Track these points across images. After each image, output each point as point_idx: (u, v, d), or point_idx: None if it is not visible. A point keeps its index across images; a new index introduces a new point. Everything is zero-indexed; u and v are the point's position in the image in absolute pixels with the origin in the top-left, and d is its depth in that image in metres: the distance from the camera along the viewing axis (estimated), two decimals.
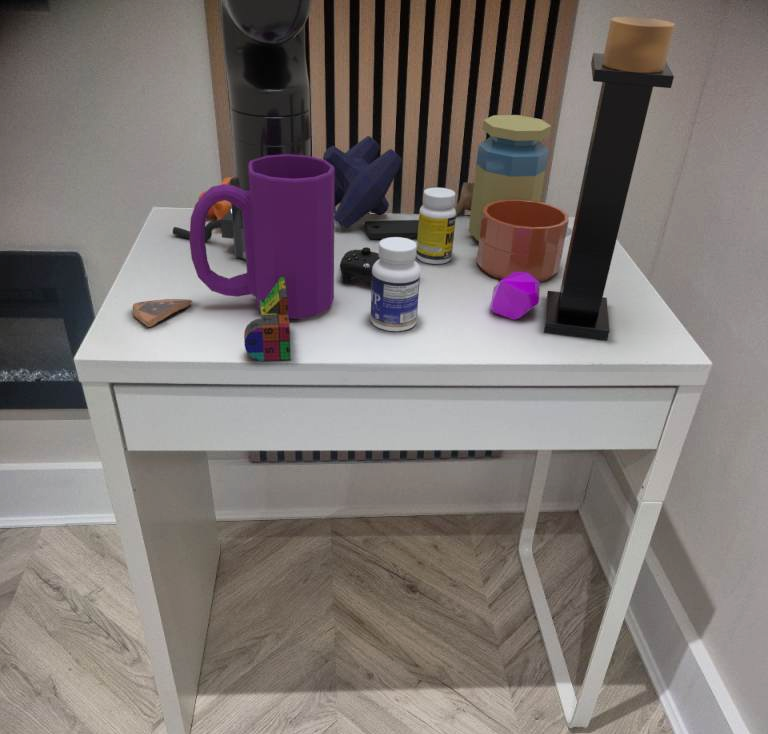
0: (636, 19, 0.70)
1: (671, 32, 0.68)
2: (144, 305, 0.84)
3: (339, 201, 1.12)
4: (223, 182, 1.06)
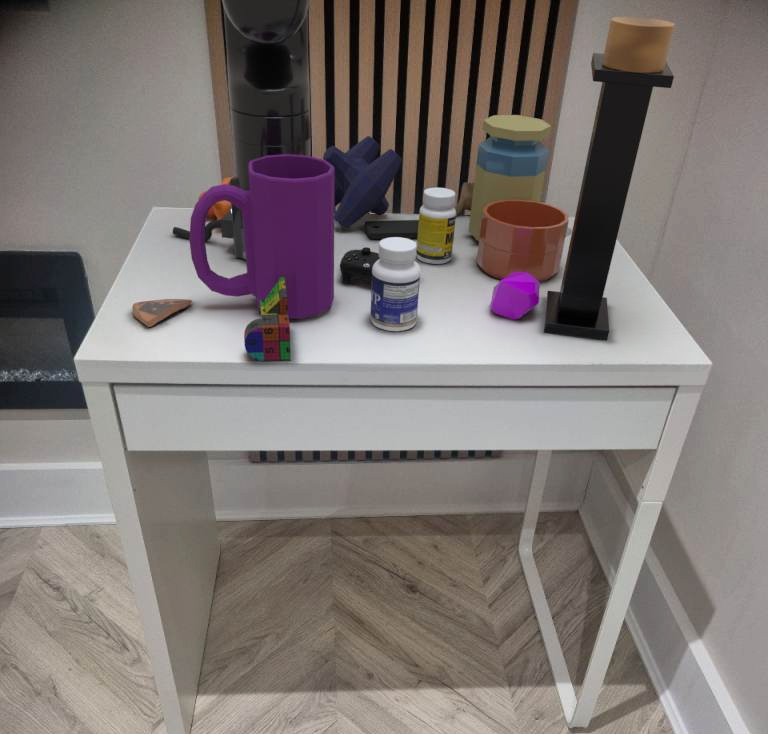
0: (636, 19, 0.70)
1: (671, 32, 0.68)
2: (144, 305, 0.84)
3: (339, 201, 1.12)
4: (223, 182, 1.06)
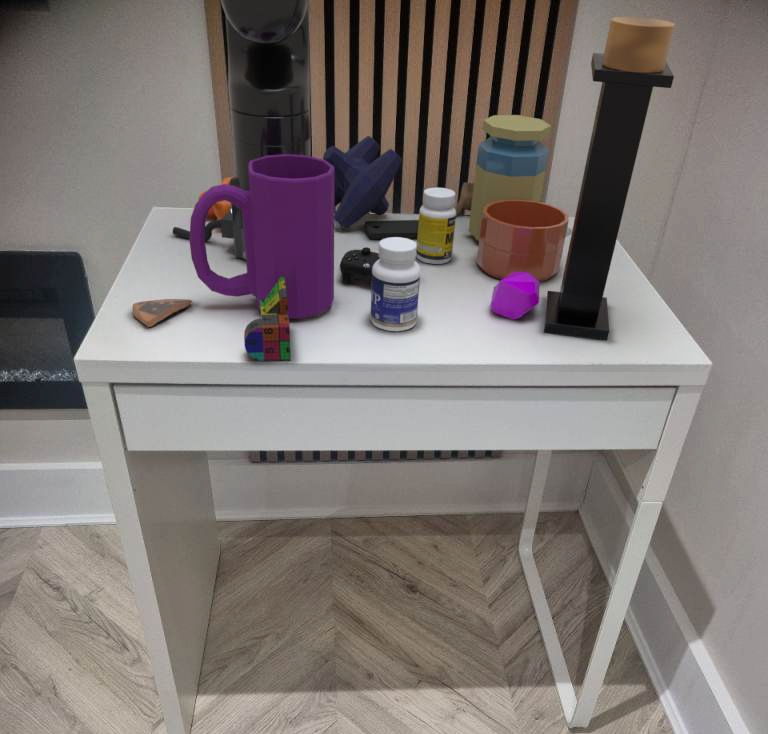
0: (636, 19, 0.70)
1: (671, 32, 0.68)
2: (144, 305, 0.84)
3: (339, 201, 1.12)
4: (223, 182, 1.06)
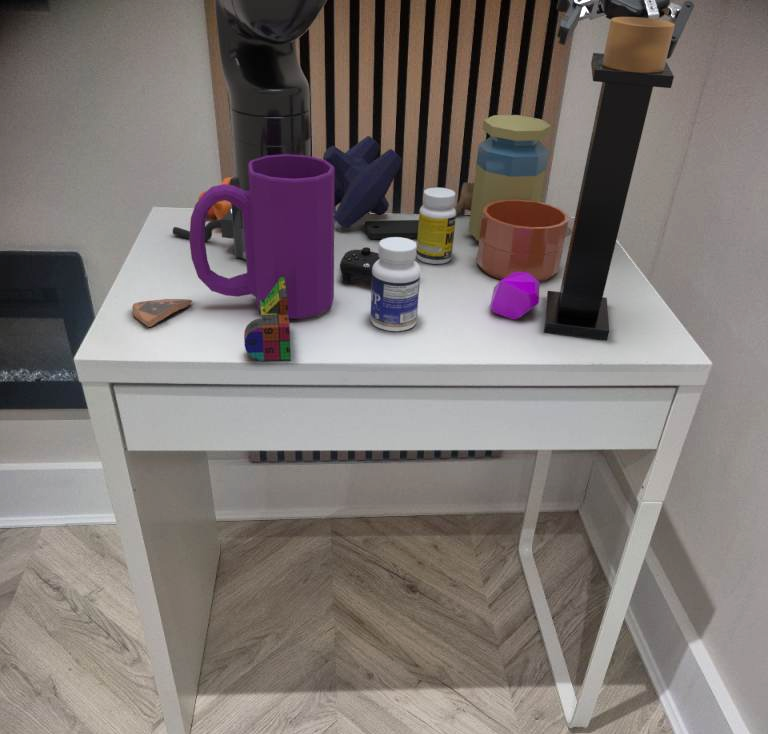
0: (636, 19, 0.70)
1: (671, 32, 0.68)
2: (144, 305, 0.84)
3: (339, 201, 1.12)
4: (223, 182, 1.06)
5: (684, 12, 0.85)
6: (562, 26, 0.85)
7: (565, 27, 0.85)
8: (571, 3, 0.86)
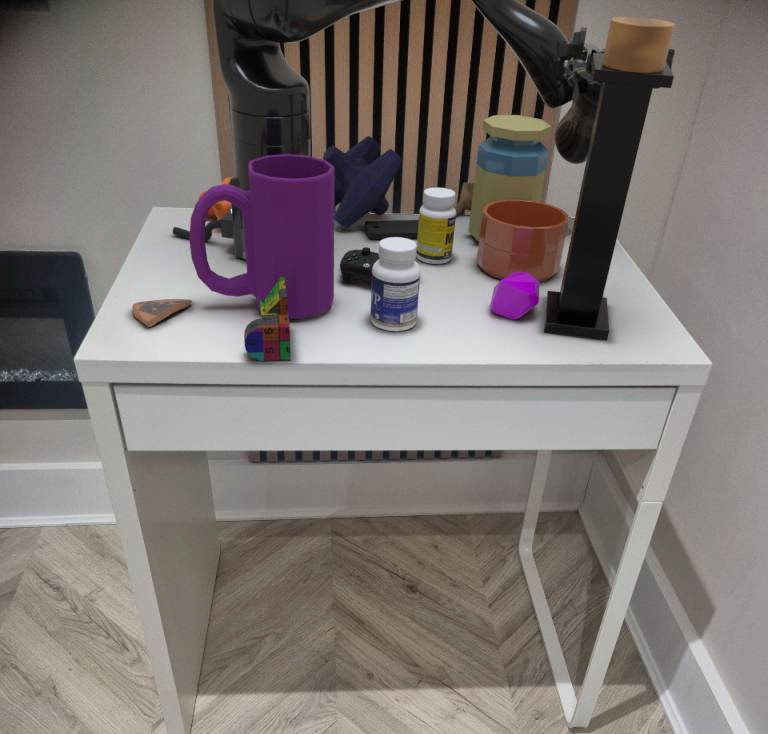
0: (636, 19, 0.70)
1: (671, 32, 0.68)
2: (144, 305, 0.84)
3: (339, 201, 1.12)
4: (223, 182, 1.06)
5: None
6: (578, 32, 0.91)
7: None
8: None
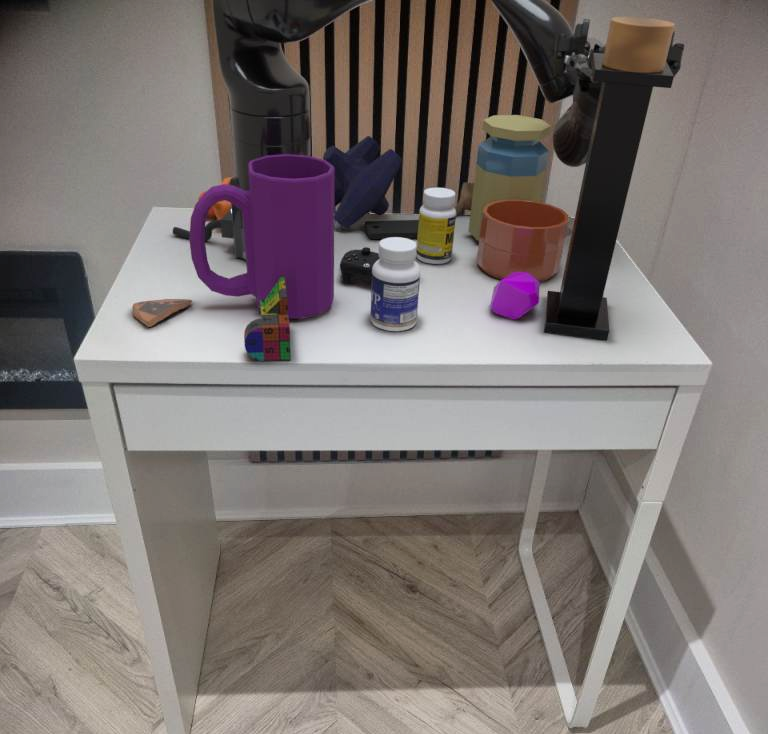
0: (636, 19, 0.70)
1: (671, 32, 0.68)
2: (144, 305, 0.84)
3: (339, 201, 1.12)
4: (223, 182, 1.06)
5: None
6: (580, 24, 0.84)
7: (585, 19, 0.84)
8: (572, 37, 0.87)
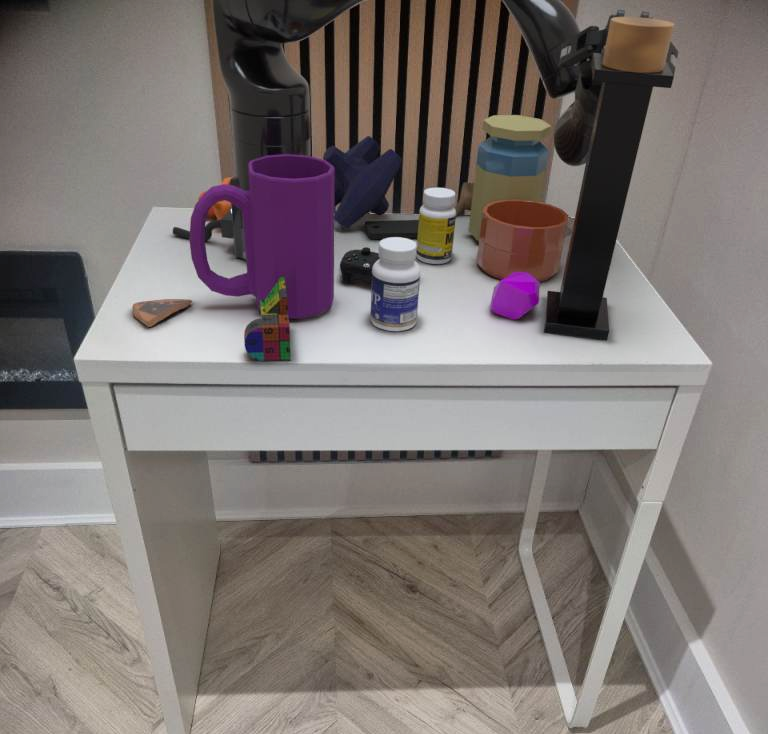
0: (636, 19, 0.70)
1: (671, 32, 0.68)
2: (144, 305, 0.84)
3: (339, 201, 1.12)
4: (223, 182, 1.06)
5: None
6: (614, 15, 0.79)
7: None
8: (604, 29, 0.82)
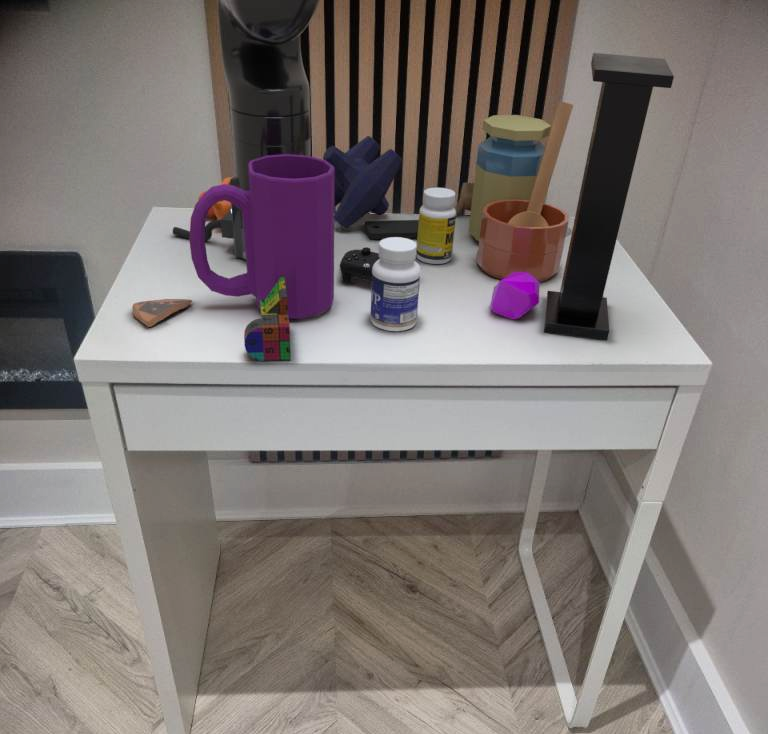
0: (525, 225, 0.96)
1: None
2: (144, 305, 0.84)
3: (339, 201, 1.12)
4: (223, 182, 1.06)
5: None
6: None
7: None
8: None
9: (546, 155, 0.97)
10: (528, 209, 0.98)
